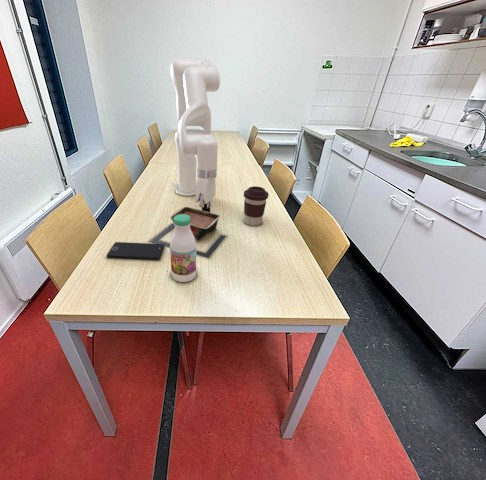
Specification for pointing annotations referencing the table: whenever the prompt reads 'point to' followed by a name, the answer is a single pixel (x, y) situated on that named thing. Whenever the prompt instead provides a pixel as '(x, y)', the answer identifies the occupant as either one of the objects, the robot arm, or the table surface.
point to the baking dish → (199, 221)
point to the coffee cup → (254, 205)
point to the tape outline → (207, 254)
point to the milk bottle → (183, 250)
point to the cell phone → (136, 250)
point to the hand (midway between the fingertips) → (205, 215)
